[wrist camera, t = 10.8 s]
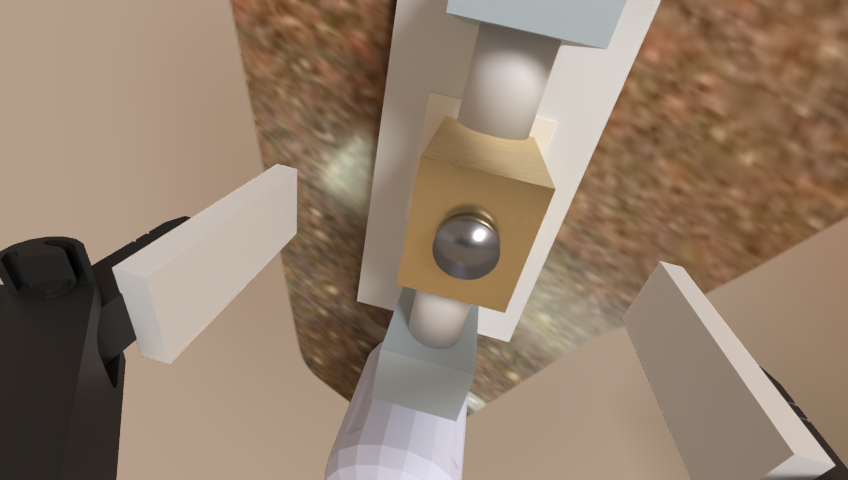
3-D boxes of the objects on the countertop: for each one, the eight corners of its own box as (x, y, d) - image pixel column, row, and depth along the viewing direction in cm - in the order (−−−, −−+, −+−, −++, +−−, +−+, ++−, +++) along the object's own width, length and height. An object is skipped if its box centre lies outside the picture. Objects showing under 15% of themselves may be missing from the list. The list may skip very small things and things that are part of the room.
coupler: (424, 211, 23) (391, 295, 16) (445, 116, 20) (417, 162, 13) (501, 230, 23) (505, 325, 15) (534, 137, 20) (559, 197, 12)
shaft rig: (416, -105, 17) (350, -227, 9) (675, -50, 16) (840, -129, 9) (361, 293, 29) (312, 386, 21) (508, 332, 28) (514, 443, 21)
